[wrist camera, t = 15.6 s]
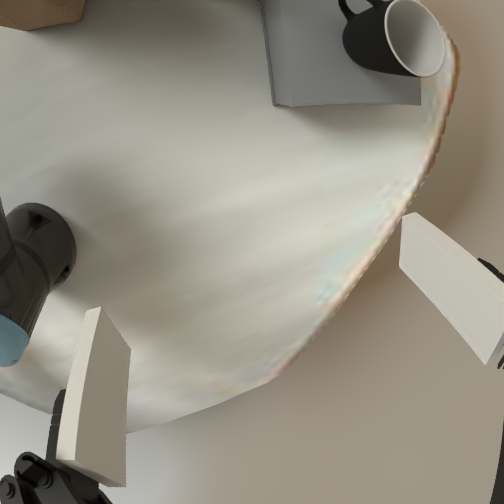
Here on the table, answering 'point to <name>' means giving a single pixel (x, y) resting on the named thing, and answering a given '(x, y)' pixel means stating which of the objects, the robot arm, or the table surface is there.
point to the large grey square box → (323, 58)
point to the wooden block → (39, 13)
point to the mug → (394, 38)
